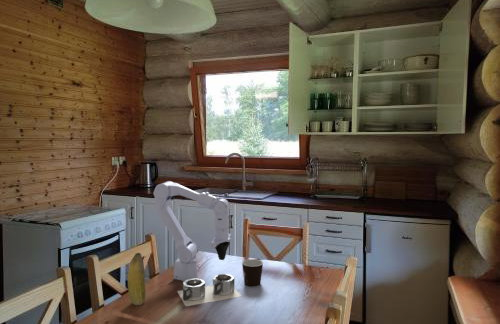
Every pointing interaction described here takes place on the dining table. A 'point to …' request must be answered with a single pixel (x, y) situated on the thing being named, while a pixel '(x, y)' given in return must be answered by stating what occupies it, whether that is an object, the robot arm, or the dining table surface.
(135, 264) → the vegetable
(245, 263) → the coffee mug
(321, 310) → the dining table surface
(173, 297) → the dining table surface
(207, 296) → the serving board
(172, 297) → the dining table surface
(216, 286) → the far pot
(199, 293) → the near pot
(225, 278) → the cylinder
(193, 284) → the near plunger
